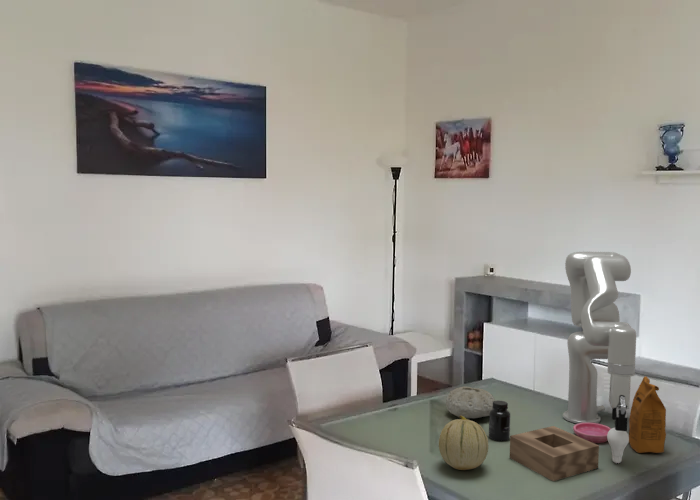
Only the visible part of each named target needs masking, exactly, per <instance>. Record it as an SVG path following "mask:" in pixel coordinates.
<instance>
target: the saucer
mask: <svg viewBox="0 0 700 500" xmlns="http://www.w3.org/2000/svg"><path fill="white" fill-rule="evenodd" d="M610 429H612V428H611V427H609V426H608V425H605V424H602V423H579V424H577V423H575V424H574V425H573V428H572V430H573V432H574V435H576V436H578V437H580V438H583V439H585V440H587V441H590V442H592V443H594V444H596V443H597V444H600V443H606V442H607V441H608V440H607V434H608V432H609V430H610Z"/></svg>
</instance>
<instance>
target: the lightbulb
mask: <svg viewBox="0 0 700 500" xmlns="http://www.w3.org/2000/svg"><path fill="white" fill-rule="evenodd" d="M607 440H608V445H609V446H610V450H611V454H612V456H611V457H612V459H611V460H612V462H614V463H615V464H617V463H618V464H619V463H621V462H623V461H622V459H623V455H624V451H625V448H626V447H627V445H628V444H629V432H627V431H617V430H615V426H614V427H612V428H611V429H610V430H609V432H608V434H607Z"/></svg>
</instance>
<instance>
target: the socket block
mask: <svg viewBox="0 0 700 500" xmlns="http://www.w3.org/2000/svg"><path fill="white" fill-rule="evenodd" d="M599 452H600V445H598V443H597V444H596V443H593V442H590V441H587V440H585V439H583V438H580V437H578V436H577V435H576V434H573V433H572V432H568V430H567V431H566V430H564V429H562V428H560V427H557V426H555V425H551V426H548V427H543V428H539V429H533V430H530V431H525V432H522V433H518V434H517V433H516V434H512V435H510V438H509V459H511V460H513V461H514V462H516V463H518V464H520V465H522V466H523V467H526V468H527V469H530V470H531V471H533V472H535V473H537V474H538V475H541V476H542V477H545V478H546V479H548V480H550V481H552V482H556V481H558V480H562V479H565V478H566V479H567V478H569V477H573V476H576V474H577V475H580V473H581V474H584V473H586V472H587V471H588V472H590V470H591V471H594V470H593V469H595V470H597V469H596V468H598V469H599V457H600V456H599ZM583 472H584V473H583ZM588 472H587V473H588Z"/></svg>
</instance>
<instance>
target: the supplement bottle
mask: <svg viewBox="0 0 700 500" xmlns="http://www.w3.org/2000/svg"><path fill="white" fill-rule="evenodd" d="M508 406H509V405H508V402H507V401H504V400H495V401H493V406H492V408H493V409H492V410H491V411H490V412H489V416H488V417H489V418H488V437H489V439H490V440H493V441H494V442H495V441H496V442H506V441H508V440H510V436H511V412H510V411H509V410H508V408H509V407H508Z"/></svg>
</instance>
